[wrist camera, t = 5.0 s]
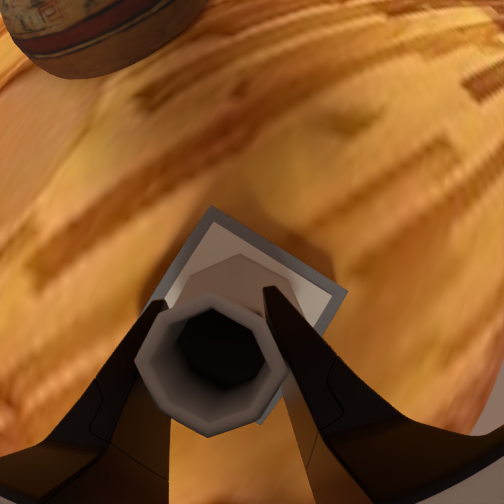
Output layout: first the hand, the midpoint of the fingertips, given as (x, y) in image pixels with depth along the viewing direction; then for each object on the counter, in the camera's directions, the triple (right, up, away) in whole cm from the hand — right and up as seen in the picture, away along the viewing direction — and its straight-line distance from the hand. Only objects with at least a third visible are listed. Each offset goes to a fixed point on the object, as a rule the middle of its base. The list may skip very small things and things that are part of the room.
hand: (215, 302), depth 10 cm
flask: (0, -2, +7) cm, 7 cm away
